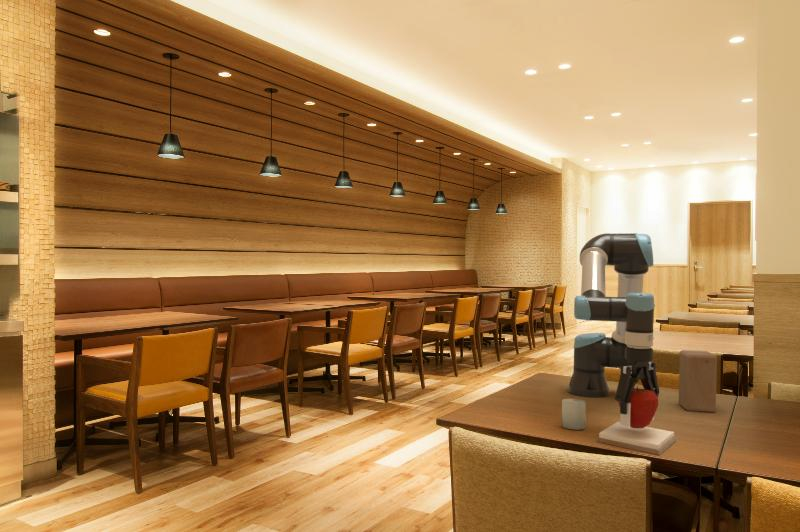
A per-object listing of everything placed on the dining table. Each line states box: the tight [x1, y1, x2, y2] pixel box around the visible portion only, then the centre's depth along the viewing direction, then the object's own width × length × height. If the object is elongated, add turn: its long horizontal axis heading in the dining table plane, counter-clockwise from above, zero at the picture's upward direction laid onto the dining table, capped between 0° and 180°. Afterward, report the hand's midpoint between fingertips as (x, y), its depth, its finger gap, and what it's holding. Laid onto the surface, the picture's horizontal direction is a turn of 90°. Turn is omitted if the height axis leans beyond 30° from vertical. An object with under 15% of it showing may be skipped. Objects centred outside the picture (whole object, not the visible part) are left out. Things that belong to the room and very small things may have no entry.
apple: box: [617, 385, 659, 428], centre depth 168 cm, size 11×11×12 cm
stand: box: [596, 420, 677, 456], centre depth 168 cm, size 17×17×2 cm
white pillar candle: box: [561, 398, 586, 431], centre depth 181 cm, size 7×7×8 cm
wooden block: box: [678, 349, 718, 413], centre depth 207 cm, size 10×10×20 cm
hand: (637, 422), depth 168 cm, fingers closed on apple, 11 cm apart
